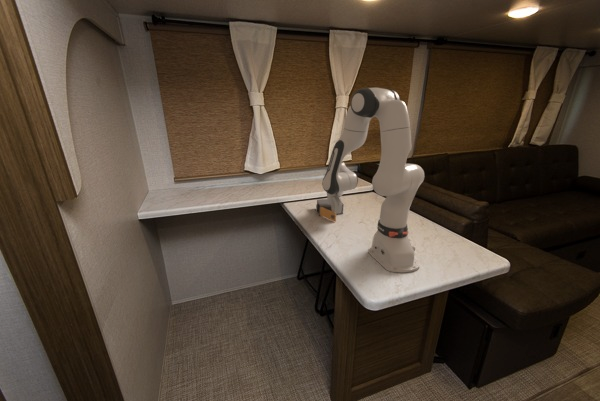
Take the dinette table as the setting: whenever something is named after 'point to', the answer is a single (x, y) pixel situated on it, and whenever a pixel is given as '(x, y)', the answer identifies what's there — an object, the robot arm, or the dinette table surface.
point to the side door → (327, 214)
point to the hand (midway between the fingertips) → (333, 213)
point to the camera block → (325, 205)
